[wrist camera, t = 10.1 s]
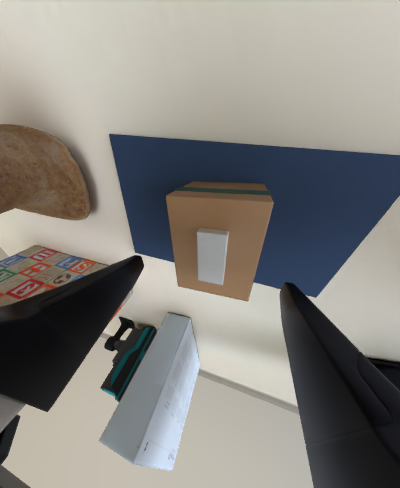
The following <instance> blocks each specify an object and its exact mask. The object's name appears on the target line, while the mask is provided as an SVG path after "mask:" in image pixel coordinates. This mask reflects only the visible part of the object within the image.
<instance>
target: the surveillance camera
mask: <svg viewBox="0 0 400 488" xmlns="http://www.w3.org/2000/svg"><path fill="white" fill-rule="evenodd" d="M119 319H120V321H121V326H120V328H119V329H118V331H117V333H116V334H115V335H114V336H111V337H109V338H108V340H107V341H106V343H105V346H104V347H105V349H107V350H110V351H114V350H117V351H118V353H117V354H116V356H115V357H114V359H113V363H114V364H113V368H112V370H111V371H110V373H109V374H108V376H107V378H106V379H105V381H104V382H103V384H102V386H101V389H102V390H104V391H105V392H107V393H108V394H111V395H113V396H115V399H116V400H117V401H118V402H120V400H121V399H122V397H123V395H124V393H125V391H126V389H127V387H128V385H129V384H130V382H131V380H132V378H133V376H134V374H135V373H136V371H137V369H138V367H139V365H140V363H141V361H142V360H143V358H144V356H145V354H146V352H147V350H148V348H149V347H150V345H151V343H152V341H153V339H154V337H155V335H156V333H157V331H156V328H154V327H146V328H145V329H144V330H141V329H138V328H134V325H133V322H132V321H131V320H128V319H125V318H122V317H119ZM128 328H132V329H133V330H132V331H131V333H130V334H129V336H128V337H127V339H126V340H120V337H121V336H122V335H123V333H124V332H125V331H126V330H127V329H128Z"/></svg>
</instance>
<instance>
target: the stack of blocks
mask: <svg viewBox="0 0 400 488" xmlns="http://www.w3.org/2000/svg"><path fill="white" fill-rule="evenodd" d="M105 267H108V266H106V265H103V264H99V263H96V262H92V261H89V260H85V259H81V258H77V257H74V256H70V255H66V254H63V253H59V252H57V251H53V250H50V249H46V248H43V247H40V246H33V247H31V248H29V249H27V250H24V251H22V252H20V253H17V254H16V255H13V256H11V257H9V258H7V259H5V260H2V261H0V306H5V305H9V304H12V303H15V302H18V301H21V300H23V299H26V298H29V297H32V296H34V295H37V294H40V293H43V292H45V291H48V290H51V289H53V288H56V287H59V286H61V285H64V284H66V283H69V282H71V281H73V280H76V279H78V278H81V277H83V276H86V275H88V274H91V273H93V272H95V271H98V270H100V269H103V268H105ZM131 295H132V290H131V291H130V293H129V294H128V295H127V297H126V298H125V300H124V301H123V303H122V304H121V306H120V307H119V309H118V310H117V312H118V311H119V310H120V309H121V307H122V306H123V305H124V304H125V302H126V301H127V300H128V299H129V297H130V296H131ZM117 312H116V313H115V315H116V314H117ZM115 315H114V316H115ZM114 316H113V317H114ZM113 317H112V319H113ZM112 319H111V320H112ZM111 320H110V321H111Z"/></svg>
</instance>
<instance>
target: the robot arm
mask: <svg viewBox="0 0 400 488" xmlns="http://www.w3.org/2000/svg"><path fill="white" fill-rule="evenodd" d="M143 268H144V264H143V260H142V257H141V256H137V255H134V256H132V257H129V258H127V259H125V260H122V261H120V262H117V263H115V264H112V265H110V266H108V267H105V268H103V269H100V270H98V271H95V272H93V273H91V274H88V275H86V276H83V277H81V278H78V279H76V280H73V281H71V282H69V283H66V284H64V285H61V286H59V287H56V288H53V289H51V290H48V291H45V292H43V293H40V294H37V295H34V296H32V297H29V298H26V299H23V300H21V301H18V302H15V303H12V304H9V305H5V306H0V488H30V487H29V486H27V485H26V484H25V483H24V482H22V481H21V480H20V479H19V478H17V477H16V476H15V475H13V474H12V473H11V472H9V471H8V470H7V469H6V468H4V467H3V466H2V465H1V464H2V463H3V461H4V460H5V459H6V458H7V456H8V454H9V451H10V447H11V444H12V441H13V438H14V435H15V432H16V428H17V426H18V422H19V419H20V416H19V415H18V412H19V411H20V410H21V409H22V408H23V407H24V406H25V405H26V404H28V405H30V406H33V407H36V408H38V409H41V410H43V411H46V412H48V411H49V410H50V408H51V407H52V406H53V404H54V403H55V401H56V400H57V398H58V397H59V395H60V394H61V392H62V391H63V390H64V388H65V387H66V385H67V384H68V382H69V381H70V379H71V378H72V376H73V375H74V373H75V372H76V370H77V369H78V368H79V366H80V365H81V363H82V362H83V360H84V359H85V357H86V355H87V354H88V353H89V351H90V350H91V348H92V347H93V345H94V344H95V342H96V341H97V340H98V338H99V337H100V335H101V334H102V332H103V331H104V329H105V328H106V326H107V325H108V323H109V322H110V320H111V319H112V317H113V316H114V315H115V313H116V312H117V310H118V309H119V307H120V306H121V304H122V303H123V301H124V300H125V298H126V297H127V295H128V294H129V293H130V291H131V290H132V288H133V286H134V285H135V283H136V281H137V279H138V277H139V276H140V274H141V272H142V270H143ZM280 306H281V319H282V327H283V332H284V337H285V342H286V347H287V352H288V357H289V362H290V368H291V373H292V378H293V383H294V388H295V393H296V398H297V403H298V408H299V413H300V419H301V424H302V429H303V434H304V439H305V444H306V450H307V455H308V459H309V465H310V470H311V475H312V480H313V485H314V488H400V364H398V363H391V362H385V361H378V360H371V359H367V358H366V357H365V356H364V355H363V354H362V353H361V352H359V350H358V349H357V348H356V347H355V346H354V345H353V344H352V343H351V342H350V341H349V340H348V339H347V337H346V336H345V335H344V334H343V333H342V332H341V331H340V330H339V329H338V328H337V327H336V326H335V325H334V324H333V323H332V322H331V321H330V320H329V319H328V318H327V317H326V316H325V315H324V314H323V313H322V312H321V311H320V310H319V309H318V308H317V307H316V306H315V305H314V304H313V303H312V302H311V301H310V299H309V298H308V297H307V296H306V295H305V294H304V293H303V292H302V291H301V290H300V289H299V288H298V287H297V286H296V285H295V284H294V283H291V282H284V284H283V286H282V289H281V291H280Z"/></svg>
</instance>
